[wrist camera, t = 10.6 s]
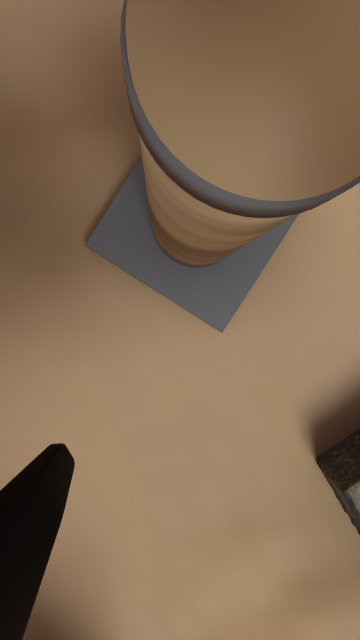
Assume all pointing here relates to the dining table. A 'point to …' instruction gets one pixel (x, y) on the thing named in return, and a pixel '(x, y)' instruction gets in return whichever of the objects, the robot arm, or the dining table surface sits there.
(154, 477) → the dining table surface
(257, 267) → the slate mat
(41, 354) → the dining table surface
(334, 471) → the stone block
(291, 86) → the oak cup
